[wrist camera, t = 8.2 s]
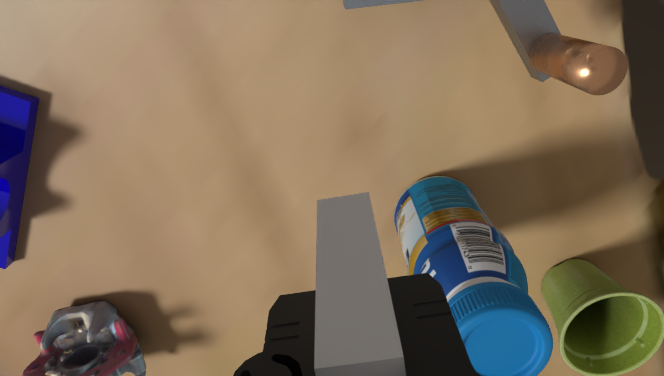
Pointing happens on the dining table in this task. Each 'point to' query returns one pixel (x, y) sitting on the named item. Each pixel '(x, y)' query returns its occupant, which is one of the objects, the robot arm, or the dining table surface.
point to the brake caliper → (87, 344)
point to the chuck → (559, 49)
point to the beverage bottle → (474, 276)
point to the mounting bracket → (14, 164)
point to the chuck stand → (371, 3)
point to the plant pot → (600, 320)
